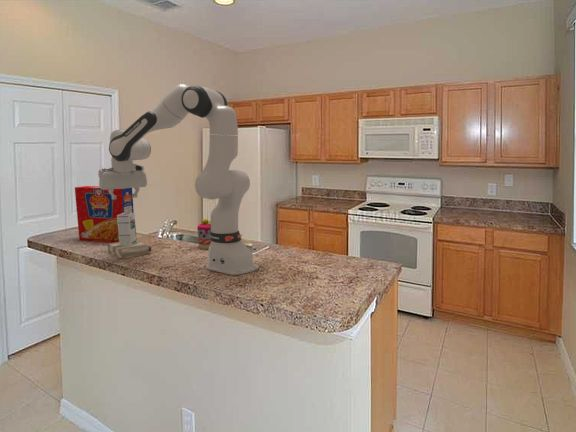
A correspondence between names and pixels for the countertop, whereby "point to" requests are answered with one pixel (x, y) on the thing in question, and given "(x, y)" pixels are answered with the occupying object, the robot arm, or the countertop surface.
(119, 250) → the dock
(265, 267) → the countertop surface
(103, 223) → the pasta box
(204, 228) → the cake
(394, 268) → the countertop surface
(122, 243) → the syrup box
